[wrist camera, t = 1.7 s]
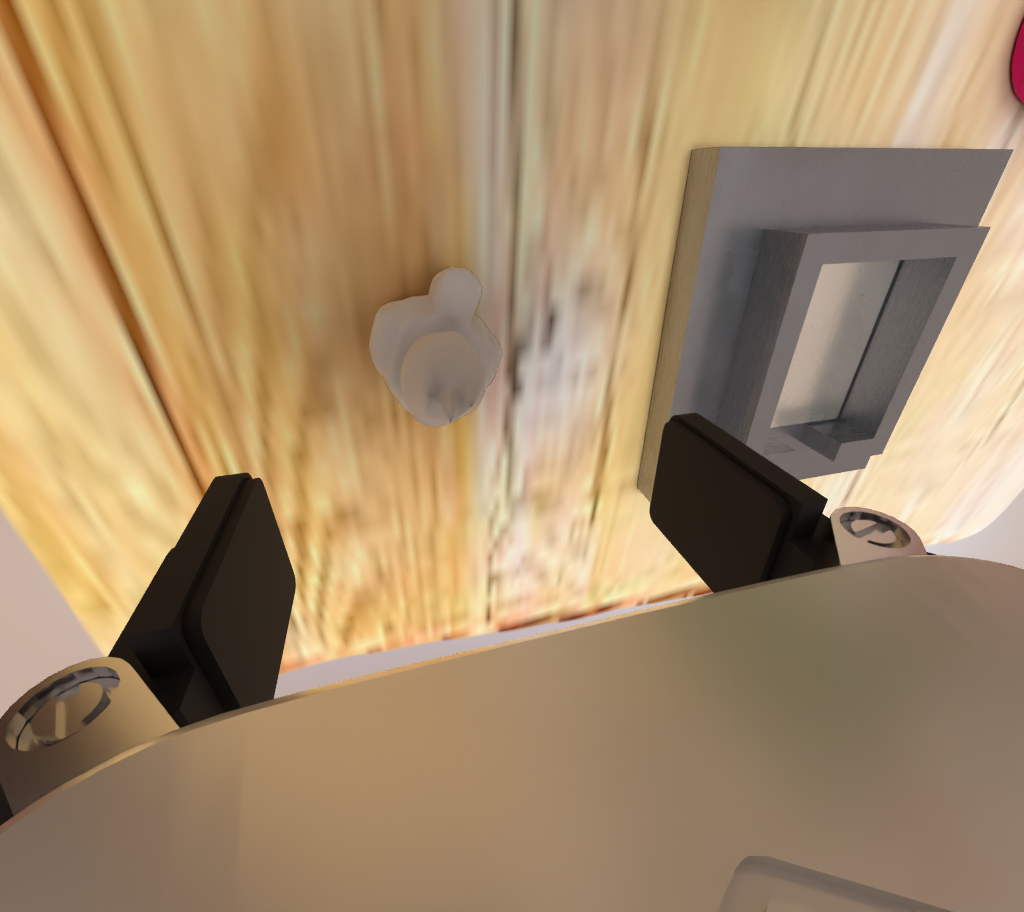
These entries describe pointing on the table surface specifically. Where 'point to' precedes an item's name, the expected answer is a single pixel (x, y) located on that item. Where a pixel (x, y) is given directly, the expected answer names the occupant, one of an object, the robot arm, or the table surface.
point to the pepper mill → (1019, 66)
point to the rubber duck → (436, 349)
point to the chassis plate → (813, 294)
